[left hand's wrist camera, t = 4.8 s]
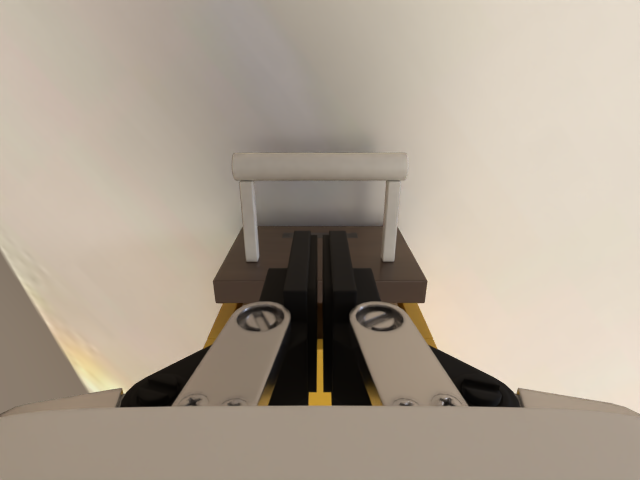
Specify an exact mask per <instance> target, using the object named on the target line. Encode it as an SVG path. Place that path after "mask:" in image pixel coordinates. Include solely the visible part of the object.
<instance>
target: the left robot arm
mask: <svg viewBox="0 0 640 480" xmlns="http://www.w3.org/2000/svg"><path fill="white" fill-rule="evenodd" d="M317 321H318V282H317V235H311V231H294V235H293V240H292V246H291V251H290V256H289V262H288V267H287V268H269V269H268V272H267V275H266V279H265V282H264V286H263V289H262V292H261V296H260V299H259V302H254V303H250V304H247V305H244V306H242V307H240V308H239V309H237V310H236V311H235V312H234V313H233V314H232V315H231V317H230V318H229V320H228V321H227V323H226V324H225V326H224V327H223V329H222V330H221V332H220V333H219V335H218V336H217V338H216V339H215V341H214V343H213V344H212V345H210V346H208V347H206V348H204V349H202V350H200V351H198V352H196V353H194V354H192V355H190V356H188V357H186V358H184V359H182V360H180V361H178V362H176V363H174V364H172V365H170V366H168V367H166V368H164V369H162V370H160V371H158V372H156V373H154V374H152V375H150V376H148V377H146V378H144V379H143V380H141V381H139V382H138V383H136V384H135V385H134V386H133V387H132V388H130V389H129V390H128V391H127V392H126V394H123V390H122V388H118V389H112V390H106V391H100V392H94V393H88V394H82V395H76V396H70V397H64V398H58V399H52V400H45V401H40V402H33V403H28V404H24V405H21V406H17V407H14V408H12V409H10V410H8V411H6V412H3V413H1V414H0V480H640V414H639V413H637V412H634V411H632V410H630V409H628V408H626V407H623V406H619V405H616V404H612V403H607V402H601V401H595V400H588V399H582V398H576V397H570V396H564V395H558V394H552V393H546V392H540V391H534V390H528V389H522V388H518V390H517V394H514V392H513V391H512V390H511V389H510V388H508V387H507V386H506V385H505V384H504V383H502V382H501V381H499V380H497V379H496V378H494V377H492V376H490V375H488V374H486V373H484V372H482V371H480V370H478V369H476V368H474V367H472V366H470V365H468V364H466V363H464V362H462V361H460V360H458V359H456V358H454V357H452V356H450V355H448V354H446V353H444V352H442V351H440V350H438V349H436V348H434V347H432V346H430V345H428V344H427V343H426V341H425V339H424V338H423V336H422V335H421V333H420V332H419V330H418V329H417V327H416V326H415V324H414V323H413V321H412V320H411V318H410V317H409V315H408V314H407V313H406V312H405V311H404V310H403V309H401V308H400V307H398V306H396V305H393V304H390V303H386V302H381V299H380V296H379V292H378V289H377V286H376V282H375V279H374V275H373V272H372V269H371V268H353V267H352V262H351V256H350V251H349V246H348V240H347V235H346V231H329V235H323V281H322V321H323V392H331V405H332V406H308V405H309V392H317Z"/></svg>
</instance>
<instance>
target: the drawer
mask: <svg viewBox="0 0 640 480" xmlns="http://www.w3.org/2000/svg"><path fill="white" fill-rule="evenodd" d="M408 166H409V163H408V156H407V154H406V153H234V154H233V157H232V173H233V177H234V179H235V180H237V181H240V182H239V185H240V197H241V208H242V220H243V227H242V229H241V231H240V233H239V234H238V236H237V238H236V240H235V242H234V244H233V245H232V247H231V249H230V251H229V253H228V255H227V256H226V258H225V260H224V262H223V264H222V266H221V267H220V269H219V271H218V273H217V275H216V277H215V278H214V280H213V285H214V293H215V301H216V303H243V306H244V305H247V304H250V303H254V302H259V299H260V296H261V292H262V289H263V286H264V282H265V279H266V275H267V272H268V269H269V268H287V267H288V262H289V256H290V251H291V246H292V240H293V235H294V231H311V235H317V282H318V321H317V339H323V321H322V281H323V235H329V231H346V235H347V240H348V246H349V251H350V256H351V262H352V267H353V268H371V269H372V272H373V275H374V279H375V282H376V286H377V289H378V292H379V296H380V299H381V302H386V303H390V304H393V305H396V306H398V305H397V303H424V302H425V296H426V288H427V279H426V278H425V276H424V274H423V272H422V270H421V269H420V267H419V265H418V263H417V261H416V260H415V258H414V256H413V254H412V252H411V250H410V249H409V247H408V245H407V243H406V241H405V240H404V238H403V236H402V234H401V232H400V231H399V229H398V227H397V223H398V211H399V200H400V188H401V182H400V180H406V178H407V174H408ZM275 180H386V191H385V205H384V219H383V226H257V215H256V201H255V187H254V181H275Z"/></svg>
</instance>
